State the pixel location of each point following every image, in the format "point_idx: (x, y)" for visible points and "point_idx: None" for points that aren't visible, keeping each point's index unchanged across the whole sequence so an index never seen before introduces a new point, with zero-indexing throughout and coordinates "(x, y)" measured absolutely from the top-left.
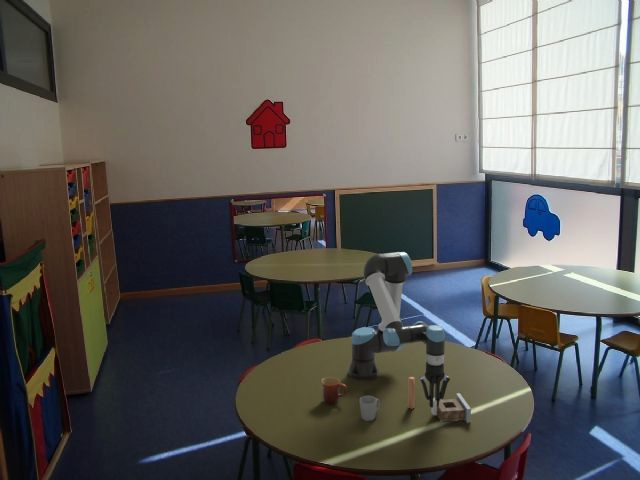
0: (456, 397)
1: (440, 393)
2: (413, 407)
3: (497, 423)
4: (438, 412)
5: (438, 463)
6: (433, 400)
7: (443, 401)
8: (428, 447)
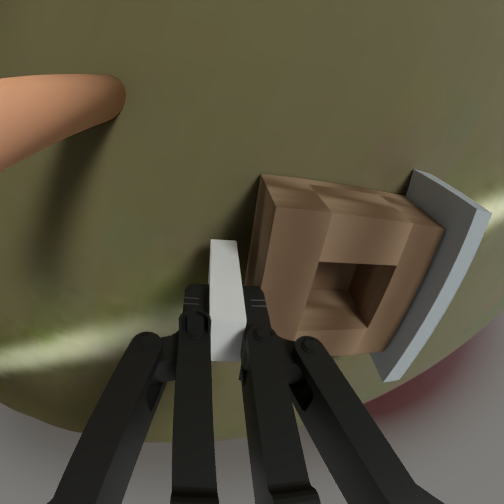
0: (455, 203)
1: (308, 372)
2: (108, 119)
3: (442, 327)
4: (251, 276)
5: (153, 441)
6: (212, 352)
7: (338, 247)
8: None
